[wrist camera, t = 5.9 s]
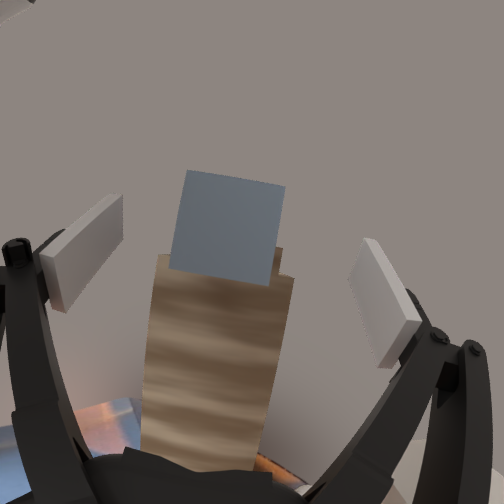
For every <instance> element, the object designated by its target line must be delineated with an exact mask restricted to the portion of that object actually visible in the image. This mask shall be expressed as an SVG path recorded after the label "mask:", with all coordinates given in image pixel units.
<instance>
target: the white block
mask: <svg viewBox="0 0 504 504" xmlns="http://www.w3.org/2000/svg"><path fill="white" fill-rule="evenodd" d="M425 445H426V439H420V440H413V441H410V443H409V445H408V447H407V449H406V451H405V452H404V454H403V456H402V458H401V460H400V462H399V463H398V465H397V467H396V469H395V470H394V472H393V474H392V477H391V478H393V479H394V483H393V485H392V487H391V489H390V490H389V492H388V494H387V495H386V497H385V498H384V500H383V502H382V503H381V504H412V502H413V498H414V495H415V491H416V487H417V483H418V479H419V474H420V470H421V465H422V461H423V456H424V450H425ZM489 504H504V477H503V476H502V475H501V474H499V473H498V472H497V471H496V470H494V469H493V468H492V475H491V487H490V496H489Z"/></svg>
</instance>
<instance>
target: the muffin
mask: <svg viewBox="0 0 504 504" xmlns="http://www.w3.org/2000/svg"><path fill="white" fill-rule="evenodd" d="M312 486H313V485H311V486H310V485H303V486H300V487H298V489H296V490H294V491H296V492H297V493H299V494H300V495H301V496H302V495H303V494H305V493H306V492H307V491H308V490H309V489H310V488H311V487H312Z"/></svg>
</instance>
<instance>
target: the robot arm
mask: <svg viewBox="0 0 504 504" xmlns="http://www.w3.org/2000/svg"><path fill="white" fill-rule="evenodd" d="M35 1H36V0H0V26H1V25H2V24H3V23H4V22H5V21H7V20H9V19H11V18H13V17H14V16H16V15H18V14H20V13H22V12H24V11H26V10H28V9H30V8H31V7H32V5H33V4H34V2H35ZM122 211H123V195H122V194H115V193H110V194H108V195H107V196H106V197H105V198H103V199H102V200H101V201H100V202H98V203H97V204H96V205H95V206H93V207H92V208H91V209H89V210H88V211H87V212H86V213H85V214H83V215H82V216H81V217H80V218H79V219H78V220H76V221H75V222H74V223H73V224H72V225H71V226H69V227H68V228H67V229H62V230H60V231H58V232H56V233H54V234H53V235H52V236H51V237H50V238H49V239H48V240H46V241H45V242H44V244H42V245H41V246H39V248H37V249H36V250H35V251H34V252H33V253H32V250H31V245H30V241H29V240H28V239H26V238H16V239H12V240H10V241H8V242H6V243H5V244H4V245H3V247H2V253H3V257H4V260H5V265H6V266H0V350H1V345H2V339H3V335H4V330H5V326H6V335H7V336H6V337H7V350H8V360H9V369H10V376H11V383H12V390H13V396H14V401H15V407H16V410H15V411H13V412H12V415H11V417H12V424H13V428H14V433H15V437H16V441H17V445H18V449H19V452H20V456H21V459H22V463H23V466H24V469H25V473H26V476H27V479H28V482H29V484H30V487H31V490H32V491H31V492H29V493H27V494H25V495H23V496H21V497H19V498H16V499H14V500H12V501H10V502H8V503H6V504H381V503H382V502H383V500H384V498H385V497H386V495H387V494H388V492H389V490H390V489H391V487H392V485H393V483H394V479H393V478H391V477H392V474H393V472H394V470H395V469H396V467H397V465H398V463H399V462H400V460H401V458H402V456H403V454H404V452H405V451H406V449H407V447H408V445H409V443H410V441H411V439H412V437H413V435H414V433H415V431H416V429H417V427H418V425H419V423H420V421H421V419H422V416H423V414H424V412H425V410H426V407H427V405H428V403H429V400H430V398H431V396H432V404H431V412H430V420H429V427H428V433H427V439H426V445H425V450H424V456H423V461H422V465H421V470H420V474H419V479H418V483H417V487H416V491H415V495H414V498H413V502H412V504H489V496H490V487H491V475H492V454H493V452H492V451H493V425H492V404H491V392H490V380H489V372H488V364H487V357H486V353H485V350H484V349H483V347H482V346H481V345H480V344H479V343H478V342H476V341H473V340H466V341H465V342H464V344H463V345H462V346H461V347H459V346H456V345H453V344H450V340H449V337H448V336H447V335H446V333H444V332H443V331H442V330H440V329H438V328H436V327H432V326H431V323H430V321H429V319H428V318H427V316H426V314H425V312H424V310H423V308H422V307H421V305H420V304H419V301H418V300H417V298H416V296H415V295H414V294H413V293H412V292H411V291H410V290H409V289H405V288H404V286H403V284H402V283H401V281H400V279H399V277H398V276H397V274H396V272H395V270H394V269H393V267H392V265H391V264H390V262H389V260H388V259H387V257H386V255H385V254H384V252H383V250H382V249H381V247H380V245H379V244H378V242H377V241H376V240H373V239H369V238H363V241H362V244H361V247H360V249H359V252H358V255H357V258H356V260H355V263H354V265H353V268H352V271H351V273H350V276H349V278H348V281H349V283H350V286H351V289H352V292H353V295H354V298H355V301H356V304H357V307H358V309H359V312H360V316H361V319H362V322H363V325H364V328H365V331H366V334H367V337H368V340H369V344H370V347H371V350H372V353H373V357H374V360H375V364H376V367H377V368H388V369H392V367H393V366H394V365H395V363H396V362H397V360H398V359H399V361H400V364H401V367H400V368H399V369H398V371H397V372H396V374H395V375H394V376H393V378H392V379H391V380H390V382H389V383H390V384H389V385H388V387H387V389H386V390H385V392H384V393H383V395H382V397H381V398H380V400H379V401H378V403H377V404H376V406H375V407H374V409H373V410H372V412H371V413H370V414H369V416H368V417H367V419H366V420H365V422H364V423H363V424H362V426H361V427H360V429H359V430H358V431H357V433H356V434H355V435H354V437H353V438H352V440H351V441H350V442H349V443H348V445H347V446H346V447H345V448H344V450H343V451H342V452H341V453H340V455H339V456H338V457H337V459H336V460H335V461H334V462H333V463H332V464H331V466H330V467H329V468H328V469H327V470H326V472H325V473H324V474H323V475H322V476H321V477H320V479H319V480H318V481H317V482H316V483H315V484H314V485H313V486H312V487H311V488H310V489H309V490H308V491H307V492H306V493H305V494H303V495H302V496H301V495H300V494H299V493H297V492H296V491H294V490H293V489H291V488H289V487H288V486H286V485H283V484H281V483H278V482H276V481H272V473H271V472H257V471H246V470H237V469H235V470H224V471H211V472H195V471H192V470H190V469H187V468H185V467H183V466H181V465H178V464H176V463H174V462H172V461H170V460H168V459H166V458H163V457H161V456H159V455H155V454H151V453H147V452H143V451H139V450H136V449H132V448H129V447H126V446H125V449H124V452H123V454H108V455H102V456H98V457H94V458H93V457H92V455H91V453H90V451H89V449H88V447H87V445H86V443H85V441H84V439H83V436H82V434H81V431H80V429H79V426H78V424H77V421H76V418H75V415H74V413H73V410H72V407H71V404H70V401H69V398H68V395H67V392H66V389H65V386H64V382H63V379H62V375H61V372H60V368H59V365H58V361H57V357H56V353H55V349H54V345H53V340H52V336H51V332H50V327H49V321H48V317H47V311H46V308H45V303H46V302H47V300H48V299H50V303H51V307H52V309H54V310H57V311H60V312H63V313H67V311H68V310H69V308H70V307H71V305H72V304H73V303H74V302H75V300H76V299H77V297H78V296H79V295H80V293H81V292H82V291H83V289H84V288H85V287H86V285H87V284H88V283H89V282H90V280H91V279H92V278H93V276H94V275H95V274H96V272H97V271H98V270H99V269H100V267H101V266H102V265H103V264H104V262H105V261H106V260H107V259H108V257H109V256H110V255H111V254H112V252H113V251H114V250H115V249H116V248H117V246H118V245H119V244H120V243H121V242H122V240H123V212H122ZM432 393H433V394H432Z"/></svg>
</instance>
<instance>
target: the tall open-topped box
mask: <svg viewBox="0 0 504 504" xmlns="http://www.w3.org/2000/svg"><path fill="white" fill-rule="evenodd" d="M282 250H283V248H279V247H275V253H274V258H273V264H272V270H271V276H270V281H269V286H265V285H259V284H253V283H247V282H241V281H235V280H229V279H223V278H218V277H212V276H207V275H201V274H195V273H190V272H185V271H179V270H174V269H169V261H170V255H171V254H169V255H168V254H167V255H166V254H164V255H163V254H162V255H158V259H157V265H156V272H155V279H154V286H153V292H152V301H151V307H150V316H149V324H148V334H147V343H146V354H145V365H144V380H143V393H142V412H141V446H140V451H143V452H147V453H151V454H155V455H159V456H161V457H163V458H166V459H168V460H170V461H172V462H174V463H176V464H178V465H181V466H183V467H185V468H187V469H190V470H192V471H195V472H211V471H224V470H235V469H237V470H246V471H253V467H254V463H255V460H256V456H257V452H258V448H259V444H260V439H261V435H262V431H263V427H264V423H265V419H266V414H267V410H268V405H269V401H270V397H271V392H272V387H273V383H274V378H275V374H276V370H277V365H278V360H279V355H280V351H281V346H282V340H283V336H284V330H285V326H286V321H287V315H288V310H289V304H290V299H291V294H292V288H293V283H294V278H292V277H290V276H288V275H285V274H283V273H280V272H279V268H280V262H281V257H282Z"/></svg>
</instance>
